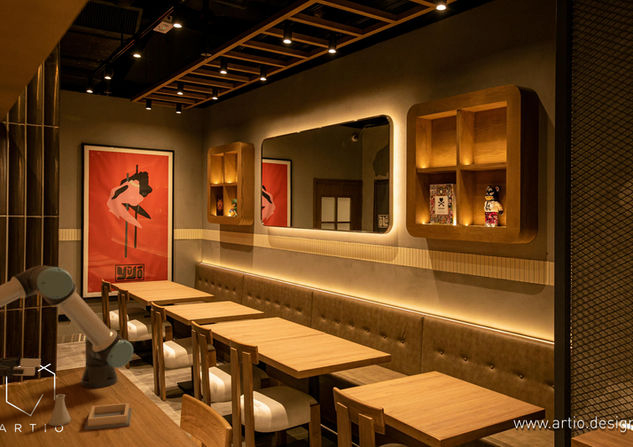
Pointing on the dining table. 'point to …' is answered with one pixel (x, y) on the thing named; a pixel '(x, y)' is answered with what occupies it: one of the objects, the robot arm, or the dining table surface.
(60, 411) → the flask
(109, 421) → the holder
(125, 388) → the dining table surface
